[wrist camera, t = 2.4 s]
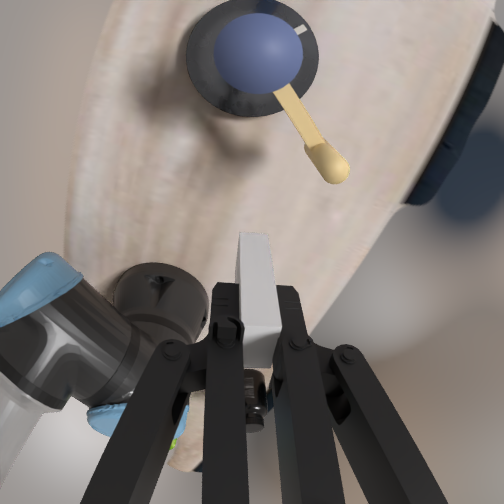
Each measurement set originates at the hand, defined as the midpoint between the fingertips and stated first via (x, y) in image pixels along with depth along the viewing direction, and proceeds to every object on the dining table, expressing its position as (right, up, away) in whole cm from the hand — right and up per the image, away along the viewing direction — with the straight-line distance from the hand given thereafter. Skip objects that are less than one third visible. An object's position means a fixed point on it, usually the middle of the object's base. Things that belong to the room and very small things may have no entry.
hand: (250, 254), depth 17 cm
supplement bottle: (-1, -25, +44) cm, 51 cm away
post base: (0, +21, +12) cm, 25 cm away
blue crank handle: (+3, +15, +9) cm, 18 cm away
